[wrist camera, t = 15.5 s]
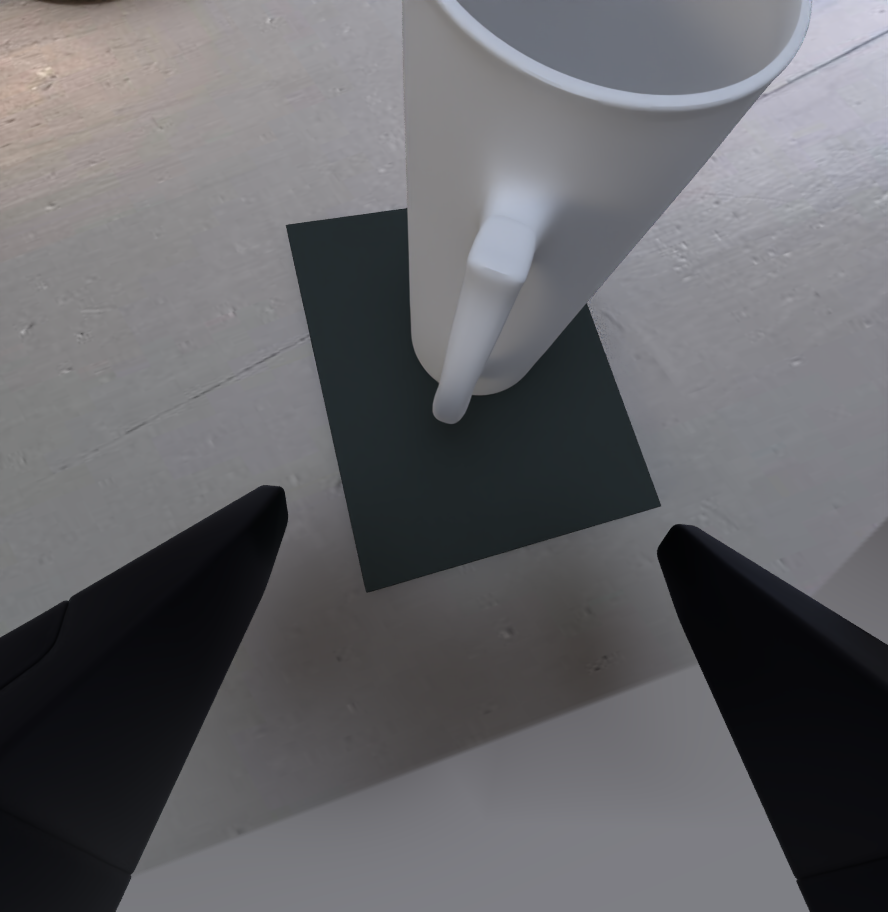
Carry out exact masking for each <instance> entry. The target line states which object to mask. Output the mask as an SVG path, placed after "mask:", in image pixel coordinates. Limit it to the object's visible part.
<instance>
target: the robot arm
mask: <svg viewBox="0 0 888 912" xmlns="http://www.w3.org/2000/svg"><path fill="white" fill-rule="evenodd" d="M287 523H288V511H287V504H286V497H285V492H284V489H283V488H282V487H280V486H270V485H263V486H260V487H258V488H256V489H255V490H253V491H251V492H250V493H248V494H246V495H245V496H243V497H241V498H239V499H238V500H236V501H234V502H233V503H231V504H229V505H227V506H226V507H224V508H222V509H221V510H219V511H217V512H215V513H214V514H212V515H210V516H209V517H207V518H205V519H203V520H202V521H200V522H198V523H197V524H195V525H193V526H191V527H190V528H188V529H186V530H185V531H183V532H181V533H180V534H178V535H176V536H174V537H173V538H171V539H169V540H168V541H166V542H164V543H162V544H161V545H159V546H157V547H156V548H154V549H152V550H150V551H149V552H147V553H145V554H144V555H142V556H140V557H138V558H137V559H135V560H133V561H132V562H130V563H128V564H126V565H125V566H123V567H121V568H120V569H118V570H116V571H115V572H113V573H111V574H109V575H108V576H106V577H104V578H103V579H101V580H99V581H97V582H96V583H94V584H92V585H91V586H89V587H87V588H85V589H84V590H82V591H80V592H79V593H77V594H75V595H73V596H72V597H71V598H70V600H69V601H63V602H61V603H59V604H58V605H56V606H54V607H53V608H51V609H49V610H48V611H46V612H44V613H42V614H41V615H39V616H37V617H36V618H34V619H32V620H30V621H29V622H27V623H25V624H23V625H21V626H20V627H18V628H16V629H14V630H13V631H11V632H9V633H7V634H6V635H4V636H2V637H0V912H116V910H117V907H118V905H119V903H120V901H121V899H122V897H123V895H124V892H125V890H126V888H127V886H128V884H129V882H130V879H131V874H132V873H133V872H134V870H135V868H136V866H137V864H138V862H139V860H140V857H141V855H142V853H143V851H144V849H145V847H146V845H147V842H148V840H149V838H150V836H151V834H152V832H153V830H154V827H155V825H156V823H157V821H158V819H159V817H160V815H161V812H162V810H163V808H164V806H165V804H166V802H167V800H168V797H169V795H170V793H171V791H172V789H173V787H174V785H175V782H176V780H177V778H178V776H179V774H180V772H181V770H182V767H183V765H184V763H185V761H186V759H187V757H188V755H189V752H190V750H191V748H192V746H193V744H194V742H195V740H196V737H197V735H198V733H199V731H200V729H201V727H202V725H203V722H204V720H205V718H206V716H207V714H208V712H209V710H210V707H211V705H212V703H213V701H214V699H215V697H216V695H217V692H218V690H219V688H220V686H221V684H222V682H223V680H224V677H225V675H226V673H227V671H228V669H229V667H230V664H231V662H232V660H233V658H234V656H235V654H236V652H237V649H238V647H239V645H240V643H241V641H242V639H243V637H244V634H245V632H246V630H247V628H248V626H249V624H250V622H251V619H252V617H253V615H254V613H255V611H256V609H257V607H258V604H259V602H260V600H261V598H262V596H263V593H264V591H265V589H266V586H267V583H268V580H269V577H270V574H271V571H272V568H273V565H274V562H275V559H276V556H277V553H278V550H279V548H280V545H281V542H282V539H283V536H284V533H285V530H286V527H287ZM657 557H658V560H659V563H660V566H661V569H662V572H663V575H664V578H665V581H666V584H667V587H668V590H669V592H670V595H671V598H672V601H673V604H674V607H675V610H676V613H677V615H678V618H679V620H680V623H681V625H682V628H683V630H684V632H685V634H686V637H687V639H688V641H689V643H690V645H691V648H692V650H693V652H694V654H695V657H696V659H697V661H698V663H699V665H700V667H701V670H702V672H703V674H704V677H705V679H706V681H707V683H708V685H709V687H710V690H711V692H712V694H713V697H714V699H715V701H716V703H717V705H718V707H719V710H720V712H721V714H722V717H723V719H724V721H725V723H726V725H727V728H728V730H729V732H730V734H731V736H732V738H733V741H734V743H735V745H736V748H737V750H738V752H739V754H740V756H741V759H742V761H743V763H744V765H745V768H746V770H747V772H748V774H749V777H750V779H751V781H752V783H753V785H754V788H755V790H756V792H757V794H758V797H759V798H760V801H761V803H762V805H763V807H764V809H765V812H766V814H767V816H768V819H769V821H770V823H771V825H772V828H773V830H774V832H775V834H776V837H777V839H778V841H779V843H780V845H781V848H782V850H783V852H784V854H785V856H786V859H787V861H788V863H789V865H790V867H791V870H792V872H793V874H794V876H795V878H797V884H798V886H799V889H800V891H801V893H802V895H803V897H804V900H805V902H806V904H807V906H808V908H809V911H810V912H888V645H887V644H885V643H883V642H882V641H880V640H879V639H877V638H876V637H874V636H872V635H871V634H869V633H867V632H866V631H864V630H862V629H861V628H859V627H858V626H856V625H854V624H853V623H851V622H850V621H848V620H846V619H845V618H843V617H842V616H840V615H838V614H837V613H835V612H833V611H832V610H830V609H828V608H827V607H825V606H824V605H822V604H820V603H819V602H817V601H816V600H814V599H812V598H811V597H809V596H808V595H806V594H804V593H803V592H801V591H799V590H798V589H796V588H795V587H793V586H791V585H790V584H788V583H786V582H785V581H783V580H782V579H780V578H778V577H777V576H775V575H774V574H772V573H770V572H769V571H767V570H765V569H764V568H762V567H761V566H759V565H757V564H756V563H754V562H752V561H751V560H749V559H748V558H746V557H744V556H743V555H741V554H740V553H738V552H736V551H735V550H733V549H731V548H730V547H728V546H727V545H725V544H723V543H722V542H720V541H718V540H717V539H715V538H714V537H712V536H710V535H709V534H707V533H706V532H704V531H702V530H701V529H699V528H697V527H695V526H692V525H683V524H676V525H674V526H673V527H672V528H671V529H670V530H669V532H668V533H667V535H666V536H665V538H664V539H663V541H662V542H661V544H660V545H659V547H658V550H657Z"/></svg>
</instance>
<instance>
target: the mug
mask: <svg viewBox="0 0 888 912" xmlns="http://www.w3.org/2000/svg"><path fill="white" fill-rule="evenodd" d="M811 9H812V0H402V37H403V82H404V117H405V148H406V180H407V211H408V244H409V283H410V312H411V336H412V343H413V347H414V350H415V353H416V356H417V358H418V360H419V361H420V363H421V365H422V366H423V368H424V369H425V370H426V371H427V373H428V374H429V375H430V376H431V377H432V378H434V379H435V380H436V381H437V382H439V386H438V389H437V391H436V394H435V397H434V401H433V414H434V416H435V417H436V419H438V420H440V421H442V422H444V423H448V424H454V423H456V422H458V421H459V420H460V419H461V418H462V417H463V415H464V414H465V412H466V410H467V407H468V405H469V402H470V399H471V396H472V395H489V394H494V393H498V392H501V391H503V390H506V389H508V388H510V387H511V386H513V385H514V384H516V383H517V382H518V381H520V380H521V379H522V378H523V377H524V376H525V375H526V374H527V372H528V371H529V370H530V369H531V368H532V366H533V365H534V364H535V363H536V362H537V361H538V360H539V358H540V357H541V356H542V355H543V354H544V353H545V352H546V350H547V349H548V348H549V347H550V346H551V345H552V343H553V342H554V341H555V340H556V339H557V337H558V336H559V335H560V334H561V333H562V331H563V330H564V329H565V328H566V327H567V325H568V324H569V323H570V322H571V321H572V320H573V318H574V317H575V316H576V315H577V314H578V312H579V311H580V310H581V309H582V308H583V307H584V305H585V304H586V303H587V302H588V301H589V299H590V298H591V297H592V296H593V295H594V294H595V292H596V291H597V290H598V289H599V288H600V287H601V285H602V284H603V283H604V282H605V281H606V280H607V278H608V277H609V276H610V275H611V274H612V272H613V271H614V270H615V269H616V268H617V267H618V265H619V264H620V263H621V262H622V261H623V260H624V258H625V257H626V256H627V255H628V254H629V253H630V251H631V250H632V249H633V248H634V247H635V246H636V244H637V243H638V242H639V241H640V240H641V238H642V237H643V236H644V235H645V234H646V233H647V231H648V230H649V229H650V228H651V227H652V226H653V224H654V223H655V222H656V221H657V220H658V219H659V217H660V216H661V215H662V214H663V213H664V212H665V210H666V209H667V208H668V207H669V206H670V204H671V203H672V202H673V201H674V200H675V199H676V197H677V196H678V195H679V194H680V193H681V191H682V190H683V189H684V188H685V187H686V186H687V184H688V183H689V182H690V181H691V180H692V178H693V177H694V176H695V175H696V174H697V173H698V171H699V170H700V169H701V168H702V167H703V165H704V164H705V163H706V162H707V161H708V159H709V158H710V157H711V156H712V154H713V153H714V152H715V151H716V149H717V148H718V147H719V146H720V144H721V143H722V142H723V141H724V139H725V138H726V137H727V136H728V134H729V133H730V132H731V131H732V130H733V128H734V127H735V126H736V125H737V123H738V122H739V121H740V120H741V118H742V117H743V116H744V115H745V114H746V112H747V111H748V110H749V109H750V107H751V106H752V105H753V104H754V103H755V101H756V100H757V99H758V98H759V97H760V95H761V94H762V93H763V92H764V91H765V89H766V88H767V87H768V86H769V85H770V84H771V82H772V81H773V80H774V79H775V78H776V77H777V76H778V75H779V74H780V73H781V72H782V71H783V70H784V69H785V68H786V67H787V66H788V64H789V63H790V62H791V60H792V59H793V58H794V56H795V55H796V53H797V52H798V50H799V48H800V46H801V44H802V43H803V40H804V38H805V35H806V32H807V29H808V26H809V22H810V16H811Z"/></svg>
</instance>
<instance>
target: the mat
mask: <svg viewBox="0 0 888 912" xmlns="http://www.w3.org/2000/svg"><path fill="white" fill-rule="evenodd" d="M286 228H287V232H288V237H289V242H290V246H291V251H292V255H293V260H294V265H295V269H296V274H297V278H298V283H299V287H300V292H301V297H302V301H303V306H304V310H305V315H306V319H307V324H308V329H309V333H310V338H311V342H312V347H313V351H314V356H315V361H316V365H317V370H318V374H319V379H320V383H321V388H322V393H323V397H324V402H325V406H326V411H327V415H328V420H329V425H330V429H331V434H332V438H333V443H334V447H335V452H336V457H337V461H338V466H339V470H340V475H341V479H342V484H343V489H344V493H345V498H346V502H347V507H348V511H349V516H350V521H351V525H352V530H353V534H354V539H355V544H356V548H357V553H358V557H359V562H360V566H361V571H362V576H363V580H364V585H365V589H366V592H367V593H368V592H371V591H374V590H378V589H381V588H385V587H388V586H391V585H395V584H398V583H402V582H405V581H408V580H412V579H415V578H419V577H422V576H425V575H429V574H432V573H436V572H439V571H442V570H446V569H449V568H453V567H456V566H459V565H463V564H466V563H470V562H473V561H476V560H480V559H483V558H487V557H490V556H493V555H497V554H500V553H504V552H507V551H510V550H514V549H517V548H521V547H524V546H527V545H531V544H534V543H538V542H541V541H544V540H548V539H551V538H555V537H558V536H561V535H565V534H568V533H572V532H575V531H578V530H582V529H585V528H589V527H592V526H595V525H599V524H602V523H606V522H609V521H612V520H616V519H619V518H623V517H626V516H629V515H633V514H636V513H640V512H643V511H646V510H650V509H653V508H657V507H660V506H661V504H660V501H659V499H658V496H657V493H656V491H655V488H654V485H653V482H652V480H651V477H650V474H649V471H648V469H647V466H646V463H645V461H644V458H643V455H642V452H641V450H640V447H639V444H638V442H637V439H636V436H635V433H634V431H633V428H632V425H631V422H630V420H629V417H628V414H627V412H626V409H625V406H624V403H623V401H622V398H621V395H620V393H619V390H618V387H617V384H616V382H615V379H614V376H613V373H612V371H611V368H610V365H609V363H608V360H607V357H606V354H605V352H604V349H603V346H602V344H601V341H600V338H599V335H598V333H597V330H596V327H595V324H594V322H593V319H592V316H591V314H590V311H589V308H588V305H587V303H586V304H585V305H584V307H583V308H582V309H581V310H580V311H579V312H578V314H577V315H576V316H575V317H574V318H573V320H572V321H571V322H570V323H569V324H568V325H567V327H566V328H565V329H564V330H563V331H562V333H561V334H560V335H559V336H558V337H557V339H556V340H555V341H554V342H553V343H552V345H551V346H550V347H549V348H548V349H547V350H546V352H545V353H544V354H543V355H542V356H541V357H540V358H539V360H538V361H537V362H536V363H535V364H534V365H533V366H532V368H531V369H530V370H529V371H528V372H527V374H526V375H525V376H524V377H523V378H522V379H521V380H520V381H518V382H517V383H516V384H514V385H513V386H511V387H510V388H508V389H506V390H503V391H501V392H498V393H494V394H489V395H472V396H471V399H470V402H469V405H468V407H467V410H466V412H465V414H464V415H463V417H462V418H461V419H460V420H459V421H458V422H456V423H454V424H448V423H444V422H442V421H440V420H438V419H436V417H435V416H434V414H433V401H434V397H435V394H436V391H437V389H438V386H439V382H437V381H436V380H435V379H434V378H432V377H431V376H430V375H429V374H428V373H427V371H426V370H425V369H424V368H423V366H422V365H421V363H420V361H419V360H418V358H417V356H416V353H415V350H414V347H413V343H412V336H411V312H410V283H409V244H408V211H407V208H406V209H398V210H391V211H384V212H376V213H369V214H362V215H355V216H347V217H340V218H333V219H326V220H318V221H311V222H304V223H297V224H289V225H286Z"/></svg>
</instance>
